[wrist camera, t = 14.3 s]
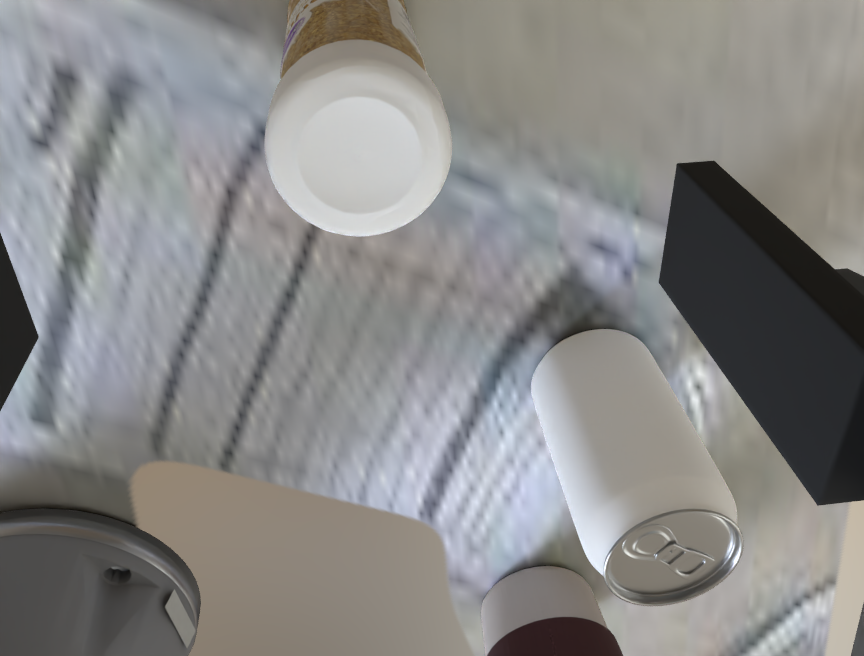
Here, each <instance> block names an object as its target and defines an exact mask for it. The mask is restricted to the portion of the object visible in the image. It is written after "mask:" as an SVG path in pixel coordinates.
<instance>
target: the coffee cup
mask: <svg viewBox="0 0 864 656" xmlns="http://www.w3.org/2000/svg"><path fill="white" fill-rule="evenodd" d="M481 620H482V630H483V639H484V648H485V656H623V654H622V652H621V650H620V647H619V645H618V643H617V641H616V639H615V637H614V635H613V634H612V633H611V631H610V630H608V628H607V626H606V623H605V621H604V618H603V616H602V614H601V611H600V609H599V606H598V604H597V602H596V599H595V597H594V594H593V592H592V590H591V588H590V586H589V584H588V583H587V582H586V580H585V579H584V578H583V577H581V576H580V575H578V574H577V573H575V572H573V571H571V570H568V569H565V568H560V567H554V566H540V567H532V568H528V569H524V570H520V571H517V572H515V573H513V574H511V575H509V576H507V577H505V578H503V579H502V580H501V581H499V582H498V583H497V584H496V585H494V586H493V587H492V588H491V590H490V591H489V592H488V593H487V595H486V597H485V598H484V600H483V603H482V608H481Z"/></svg>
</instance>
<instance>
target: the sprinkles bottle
mask: <svg viewBox="0 0 864 656" xmlns="http://www.w3.org/2000/svg"><path fill="white" fill-rule="evenodd" d="M287 22H288V26H287V30H286V36H285V43H284V50H283V57H282V64H281V71H280V79H281V80H280V82H279V84H278V85H277V88H276V90H275V92H274V94H273V97H272V100H271V103H270V107H269V112H268V117H267V122H266V131H265V156H266V163H267V168H268V171H269V174H270V176H271V179H272V182H273V184H274V186H275V188H276V189H277V191H278V193H279V194H280V195H281V197H282V198H283V200H284V201H285V202H286V203H287V204H288V206H289V207H290V208H291V209H292V210H293V211H294V212H296V213H297V214H298V215H299V216H301V217H302V218H303V219H305V220H306V221H308V222H309V223H311V224H313V225H315V226H317V227H319V228H321V229H323V230H326V231H328V232H332V233H337V234H340V235H347V236H373V235H378V234H383V233H386V232H390V231H393V230H395V229H398V228H400V227H402V226H404V225H406V224H407V223H409V222H411V221H412V220H414V219H415V218H416V217H418V216H419V215H420V214H422V213H423V212H424V211H425V210H426V209H427V208H428V207H429V206H430V204H431V203H432V202H433V201H434V199H435V198H436V196H437V195H438V194H439V192H440V191H441V189H442V187H443V185H444V183H445V180H446V178H447V175H448V172H449V168H450V164H451V157H452V138H451V130H450V126H449V122H448V118H447V114H446V111H445V108H444V105H443V102H442V99H441V96H440V94H439V92H438V90H437V88H436V86H435V84H434V83H433V81H432V80H431V78H430V77H429V76H428V74H427V71H426V67H425V63H424V60H423V57H422V54H421V51H420V48H419V45H418V42H417V40H416V37H415V34H414V32H413V29H412V26H411V23H410V21H409V18H408V16H407V11H406V7H405V5H404V1H403V0H290V1H289V6H288V14H287Z"/></svg>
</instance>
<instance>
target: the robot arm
mask: <svg viewBox="0 0 864 656" xmlns="http://www.w3.org/2000/svg"><path fill="white" fill-rule="evenodd" d="M659 284H660V285H661V286H662V288H663V289H664V291H665V292H666V293H667V295H668V296H669V298H670V299H671V301H672V302H673V303H674V305H675V306H676V308H677V309H678V310H679V312H680V313H681V315H682V316H683V317H684V319H685V320H686V322H687V323H688V324H689V326H690V327H691V329H692V330H693V331H694V333H695V334H696V336H697V337H698V338H699V340H700V341H701V343H702V344H703V345H704V347H705V348H706V350H707V351H708V352H709V354H710V355H711V357H712V358H713V359H714V361H715V362H716V364H717V365H718V366H719V368H720V369H721V371H722V372H723V373H724V375H725V376H726V378H727V379H728V380H729V382H730V383H731V385H732V386H733V387H734V389H735V390H736V392H737V393H738V394H739V396H740V397H741V399H742V400H743V401H744V403H745V404H746V406H747V407H748V408H749V410H750V411H751V413H752V414H753V415H754V417H755V418H756V420H757V421H758V422H759V424H760V425H761V427H762V428H763V429H764V431H765V432H766V434H767V435H768V436H769V438H770V439H771V441H772V442H773V443H774V445H775V446H776V448H777V449H778V450H779V452H780V453H781V455H782V456H783V457H784V459H785V460H786V462H787V463H788V464H789V466H790V467H791V469H792V470H793V471H794V473H795V474H796V476H797V477H798V478H799V480H800V481H801V483H802V484H803V485H804V487H805V488H806V490H807V491H808V492H809V494H810V495H811V497H812V498H813V499H814V501H815V502H816V504H817V505H826V504H835V503H843V502H852V501H861V500H864V276H862V275H859V274H857V273H855V272H853V271H851V270H849V269H834V268H832V267H831V266H830V265H829V264H828V263H827V262H826V261H825V260H824V259H822V258H821V257H820V256H819V255H818V254H817V253H816V252H815V251H814V250H812V249H811V248H810V247H809V246H808V245H807V244H806V243H805V242H804V241H802V240H801V239H800V238H799V237H798V236H797V235H796V234H795V233H794V232H792V231H791V230H790V229H789V228H788V227H787V226H786V225H785V224H784V223H783V222H781V221H780V220H779V219H778V218H777V217H776V216H775V215H774V214H773V213H771V212H770V211H769V210H768V209H767V208H766V207H765V206H764V205H763V204H761V203H760V202H759V201H758V200H757V199H756V198H755V197H754V196H753V195H751V194H750V193H749V192H748V191H747V190H746V189H745V188H744V187H743V186H741V185H740V184H739V183H738V182H737V181H736V180H735V179H734V178H733V177H731V176H730V175H729V174H728V173H727V172H726V171H725V170H724V169H723V168H721V167H720V166H719V165H718V164H717V163H716V162H715V161H704V162H691V163H677V167H676V174H675V180H674V187H673V193H672V200H671V206H670V213H669V219H668V226H667V232H666V239H665V245H664V252H663V258H662V265H661V271H660V278H659ZM38 337H39V336H38V334H37V331H36V328H35V326H34V323H33V320H32V317H31V315H30V312H29V309H28V307H27V304H26V301H25V299H24V296H23V293H22V290H21V288H20V285H19V282H18V280H17V277H16V274H15V271H14V269H13V266H12V263H11V261H10V258H9V255H8V252H7V250H6V247H5V244H4V242H3V239H2V236H1V234H0V411H1V409H2V407H3V405H4V403H5V401H6V399H7V397H8V395H9V393H10V391H11V389H12V387H13V386H14V384H15V382H16V380H17V378H18V376H19V374H20V372H21V370H22V368H23V366H24V364H25V362H26V361H27V359H28V357H29V355H30V353H31V351H32V349H33V347H34V345H35V343H36V341H37V339H38ZM200 604H201V601H200V593H199V588H198V585H197V582H196V580H195V578H194V576H193V574H192V572H191V571H190V569H189V568H188V566H187V565H186V563H185V562H184V561H183V560H182V559H181V558H180V557H179V556H178V555H177V554H176V553H175V552H174V551H173V550H172V549H171V548H169V547H168V546H167V545H165V544H164V543H163V542H161V541H160V540H158V539H157V538H155V537H153V536H152V535H150V534H148V533H146V532H144V531H142V530H140V529H138V528H136V527H134V526H131V525H129V524H127V523H124V522H121V521H118V520H115V519H112V518H109V517H105V516H101V515H97V514H92V513H87V512H81V511H74V510H64V509H24V510H16V511H8V512H4V513H0V656H188V655H189V653H190V651H191V649H192V647H193V645H194V642H195V637H196V633H197V626H198V620H199V614H200ZM851 656H864V604H863V608H862V612H861V616H860V620H859V625H858V628H857V633H856V637H855V641H854V645H853V649H852V653H851Z"/></svg>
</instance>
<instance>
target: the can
mask: <svg viewBox="0 0 864 656" xmlns="http://www.w3.org/2000/svg"><path fill="white" fill-rule="evenodd" d="M531 394H532V399H533V403H534V406H535V409H536V412H537V415H538V418H539V422H540V425H541V428H542V431H543V434H544V437H545V440H546V443H547V446H548V448H549V451H550V454H551V457H552V460H553V463H554V466H555V469H556V472H557V475H558V478H559V481H560V484H561V487H562V490H563V493H564V496H565V499H566V502H567V504H568V507H569V510H570V513H571V516H572V519H573V522H574V525H575V528H576V530H577V533H578V536H579V539H580V542H581V544H582V547H583V550H584V552H585V554H586V556H587V558H588V560H589V562H590V563H591V564H592V565H593V567H594V568H595V569H596V570H597V571H598V572H599V573H600V574H602V575H603V576H604V579H605V582H606V585H607V586H608V588H609V589H610V591H611V592H612V593H613V594H614V595H616V596H617V597H619V598H620V599H622V600H624V601H626V602H629V603H632V604H637V605H643V606H664V605H671V604H676V603H680V602H683V601H687V600H690V599H692V598H695V597H697V596H699V595H701V594H704V593H705V592H707V591H709V590H711V589H712V588H714V587H715V586H717V585H718V584H719V583H721V582H722V581H723V580H724V579H725V578H726V577H727V576H728V575H729V574H730V573H731V572H732V571H733V570H734V568H735V567H736V566H737V564H738V562H739V560H740V558H741V556H742V552H743V547H744V541H743V536H742V533H741V531H740V529H739V527H738V526H737V508H736V504H735V501H734V498H733V496H732V494H731V492H730V490H729V488H728V486H727V484H726V482H725V481H724V479H723V477H722V475H721V473H720V472H719V470H718V468H717V466H716V465H715V463H714V461H713V459H712V458H711V456H710V454H709V452H708V451H707V449H706V447H705V445H704V444H703V442H702V440H701V439H700V437H699V435H698V433H697V432H696V430H695V428H694V426H693V425H692V423H691V421H690V419H689V418H688V416H687V414H686V413H685V411H684V409H683V407H682V406H681V404H680V402H679V401H678V399H677V397H676V395H675V394H674V392H673V390H672V388H671V387H670V385H669V383H668V382H667V380H666V378H665V377H664V375H663V373H662V371H661V370H660V368H659V366H658V365H657V363H656V361H655V360H654V358H653V356H652V355H651V353H650V352H649V350H648V349H647V347H646V346H645V345H644V344H643V343H642V342H641V341H640V340H639V339H637V338H636V337H634V336H632V335H630V334H628V333H626V332H622V331H618V330H612V329H596V330H590V331H585V332H581V333H578V334H575V335H573V336H570V337H568V338H566V339H564V340H562V341H561V342H559V343H558V344H556V345H555V346H554V347H553V348H552V349H551V350H550V351H549V352H548V353H547V354H546V355H545V356H544V357H543V359H542V360H541V362H540V363H539V365H538V366H537V368H536V370H535V372H534V375H533V378H532V383H531Z"/></svg>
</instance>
